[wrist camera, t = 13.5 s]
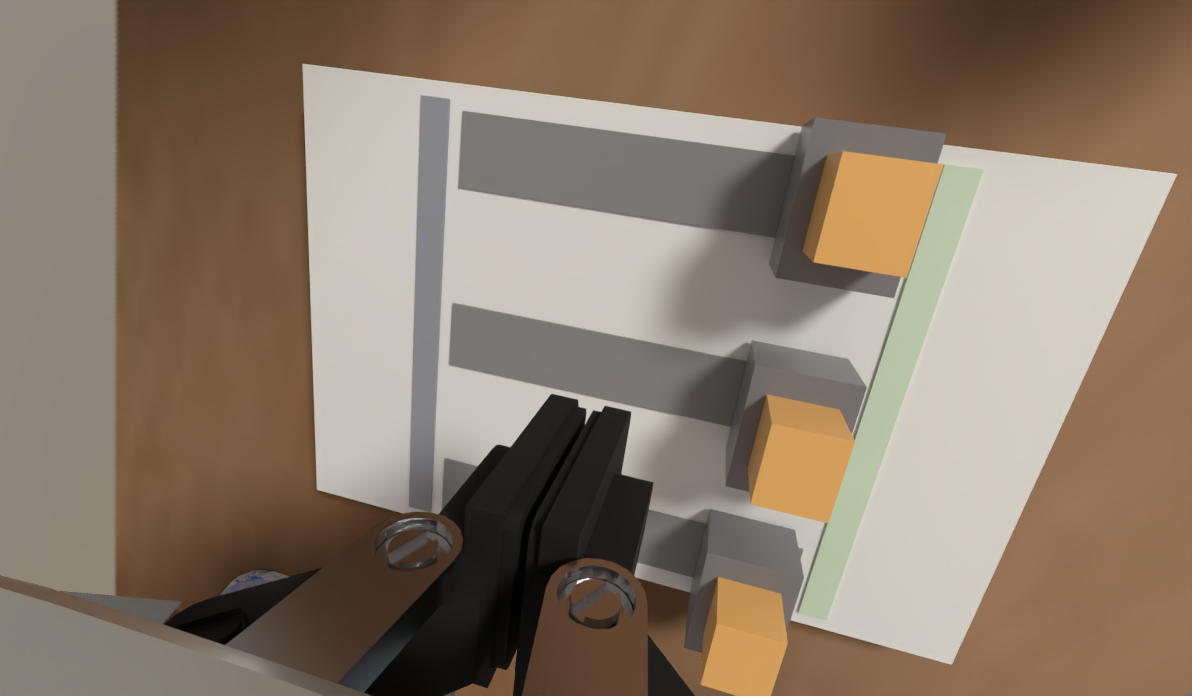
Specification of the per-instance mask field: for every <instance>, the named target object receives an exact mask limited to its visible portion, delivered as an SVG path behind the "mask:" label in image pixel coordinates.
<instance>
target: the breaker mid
mask: <svg viewBox="0 0 1192 696" xmlns="http://www.w3.org/2000/svg"><path fill="white" fill-rule="evenodd" d="M866 389H867V386H866V385H865V383H864V382H863V380H862V379H861V377H860V376H859V374H858V373H857V371H856V370H855V368H854V367H853V365H852V364H851V362H850V361H849V359H846V358H841V357H836V356H831V355H825V354H820V353H815V352H810V351H805V350H800V349H794V348H789V347H784V346H779V345H774V344H769V343H763V342H758V341H753V340H752V342H751V346H750V350H749V354H748V358H747V362H746V366H745V371H744V375H743V379H742V383H741V387H740V391H739V395H738V400H737V404H736V408H735V412H734V416H733V420H732V424H731V429H730V433H729V437H728V441H727V445H726V469H725V486H727V487H731V488H735V489H739V490H744V491H748V492H750V504H751V505H755V506H759V507H763V508H767V509H771V510H776V511H780V512H784V513H788V514H792V515H796V516H800V517H804V518H808V519H812V520H817V521H821V522H825V523H829V520H830V517H831V514H832V511H833V508H834V505H835V502H836V499H837V496H838V493H839V490H840V487H841V484H842V481H843V477H844V474H845V471H846V468H847V465H848V462H849V459H850V456H851V453H852V450H853V447H854V444H855V440H854V438H853V436H852V432H853V429H854V426H855V423H856V420H857V417H858V414H859V411H860V407H861V404H862V401H863V398H864V395H865V392H866Z"/></svg>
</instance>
